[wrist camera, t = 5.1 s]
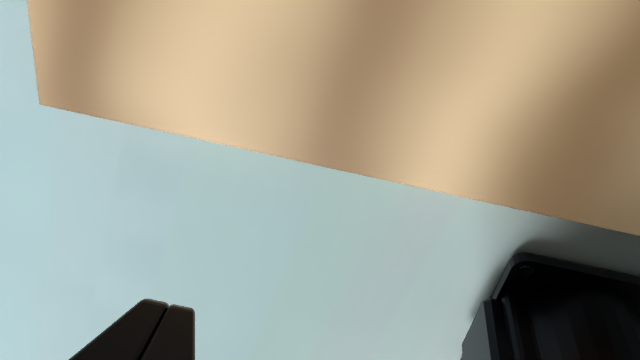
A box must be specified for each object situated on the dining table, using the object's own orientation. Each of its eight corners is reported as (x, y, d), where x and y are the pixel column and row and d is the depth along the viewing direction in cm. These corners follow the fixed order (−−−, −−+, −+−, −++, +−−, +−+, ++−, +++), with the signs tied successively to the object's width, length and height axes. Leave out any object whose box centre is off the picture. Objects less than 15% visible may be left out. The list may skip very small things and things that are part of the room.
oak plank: (874, -77, 14) (916, -62, 13) (671, 217, 19) (688, 246, 18) (29, -260, 14) (-7, -262, 13) (61, 83, 19) (39, 104, 18)
